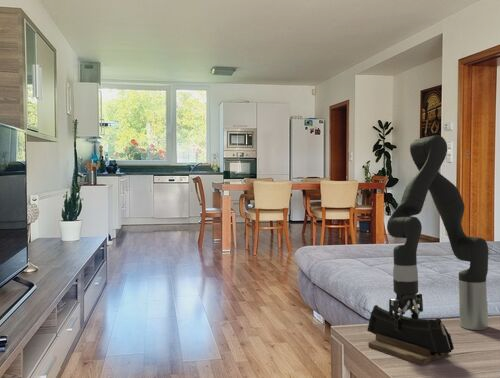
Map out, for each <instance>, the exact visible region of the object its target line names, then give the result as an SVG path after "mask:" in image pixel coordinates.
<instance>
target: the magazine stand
mask: <svg viewBox="0 0 500 378" xmlns="http://www.w3.org/2000/svg"><path fill="white" fill-rule="evenodd" d="M367 344H368V348H370V347H371V348H370V349H373V348H374V349H373V350H376V349H377V351H379V352H382V353H384V354H385V353H386V354H388V355H391V356H394V357H396V358H399V359H402V360H405V361H408V362H411V363H415V364H416V365H420V366H423V365H425V364H427V363H431V362H433V361H435V360H439V359H440V358H442V357H446V356H447V355H449V354H450V353H441V354H442V356H439V355H438V353H433V352H431V350H429V349H426V348H423V347H420V346H417V345H413V344H410V343H407V342H404V341H400V340H397V339H394V338H391V337H388V336H384V335H381V334H378V333H377V334H376V335H375V340H371V341H368V343H367Z"/></svg>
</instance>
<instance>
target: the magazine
mask: <svg viewBox="0 0 500 378" xmlns="http://www.w3.org/2000/svg"><path fill="white" fill-rule="evenodd" d="M393 314H394V312H393ZM398 316H399V314H398ZM401 320H402V331H401V332H398V331H395V328H394V319H393V318H390V317H389V310H386V309H383V308H382V307H380V306H379V305H377V304H375V305H374V306H373V308H372V310H371V312H370V315H369V321H368V325H367V330H366V331H367V332H368V333H369V332H370V333H372V334H374V335H375V336H376V334H377V333H378V334H381V335H384V336H388V337H391V338H394V339H397V340H400V341H404V342H407V343H410V344H413V345H417V346H420V347H423V348H426V349H429V350H431V352H433V353H438V355H439V356H442V354H441V353H449V354H450V353H451V352H452V351H453V350H454V349H455V347H454V343H453V340H452V336H451V334H450V333H449V331H448V329H447V328H446V326H445V325H444V324H443V323H442V319H441V318H436V319H425V318H424V319H422V318H421V319H420V318H419V319H415V318H411V317H410V316H409V317H408V316H404V315H403V316H402V319H401Z"/></svg>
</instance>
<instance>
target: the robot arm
mask: <svg viewBox="0 0 500 378" xmlns="http://www.w3.org/2000/svg"><path fill="white" fill-rule="evenodd" d="M409 152H410V156H411V158H412V161H413V163H414V165H415V166H416V169H417V170H418V172H417V173H416V174H415V175H414V177H412V179H411V180H410V181H409V182H408V183H407V185H406V187H405V188H404V191H403V194H402V197H401V200H400V203H399V204H398V205H397V207H396V208H395V210H394V211H393V212H392V214H391V215H390V217H389V218H388V221H387V224H386V230H387V233H388V234H389V236H391V237H392V238H399V239H401V238H402V239H406V240H405V241H404V242H405V243H404V244H399V245H396V246H394V248H393V251H392V252H393V268H392V271H393V272H392V278H393V279H392V280H393V281H392V283H393V284H392V285H393V292H394V293H395V299H394V298H389V300H388V311H389V317H390V318H393V319H394V328H395V331H398V332H401V331H402V320H401V319H402V316H404V315H405V314H406V312H407V311H410V313H411V314H410V318H415V319H420V316H419V315H420V313H422V312H424V301H423V294H422V293H419V275H418V274H419V273H418V272H419V271H418V265H417V263H418V261H417V260H418V259H417V251H418V246H419V242H420V237H421V235H422V234H421V233H422V228H423V227H422V223H421V221H420V219H419V218H418V217H416V216H417V215H419V214H420V213H421V212H422V211H423V207H424V204H425V201H426V197H427V195H428V192H429V193H430V196H431V199H432V201H433V203H434V206H435V208H436V210H437V212H438V215H439V216H440V219H441V221H442V224H443V226H444V229H445V231H446V234H447V238H448V240H449V244H450V247H451V251H452V253H453V255H454V257H455V258H456V259H458V260H460V261H463V262H469V268H468V269H464V270H461V271H459V272H458V301H459V302H458V304H459V305H458V306H459V326H460V327H462V328H463V329H468V330H472V331H473V330H474V331H484V330H487V329H488V326H489V311H488V310H489V309H488V299H487V296H488V295H487V294H488V293H487V275H488V273H489V272H488V271H489V245H488V243H487V241H486V240H485V239H484V238H482V237H477V236H476V237H475V236H467V235H466V234H465V231H464V230H463V229H464V228H463V226H462V221H463V216H464V213H465V206H466V205H465V202H464V200H463V197H462V195H461V192H460V191H459V189H458V187H457V186H456V185H455V184H454V183H452V181H450V180H449V179H447V178H446V177H445V176H444V175H442V174H441V173H440V172H439V170H440V169H441V167H442V164H444V161H445V159H446V157H447V153H448V144H447V142H446V139H445V138H444V137H443V136H441V135H431V136H426V137H425V136H424V137H420V138H416V139H414V140H412V141H411V143H410V146H409ZM393 313H394V314H393ZM398 315H399V316H398Z"/></svg>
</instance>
